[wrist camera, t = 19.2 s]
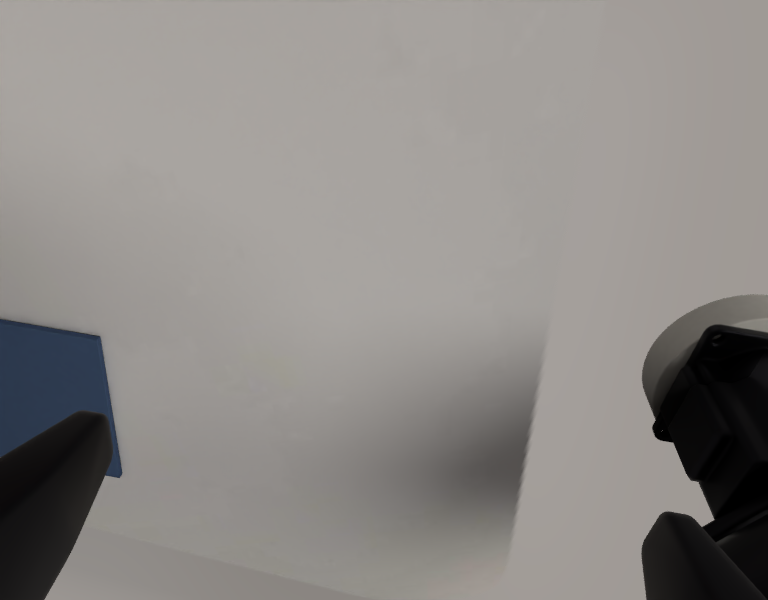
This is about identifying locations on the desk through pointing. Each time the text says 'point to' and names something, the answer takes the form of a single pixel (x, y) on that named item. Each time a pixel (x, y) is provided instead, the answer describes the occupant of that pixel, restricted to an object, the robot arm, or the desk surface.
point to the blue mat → (49, 382)
